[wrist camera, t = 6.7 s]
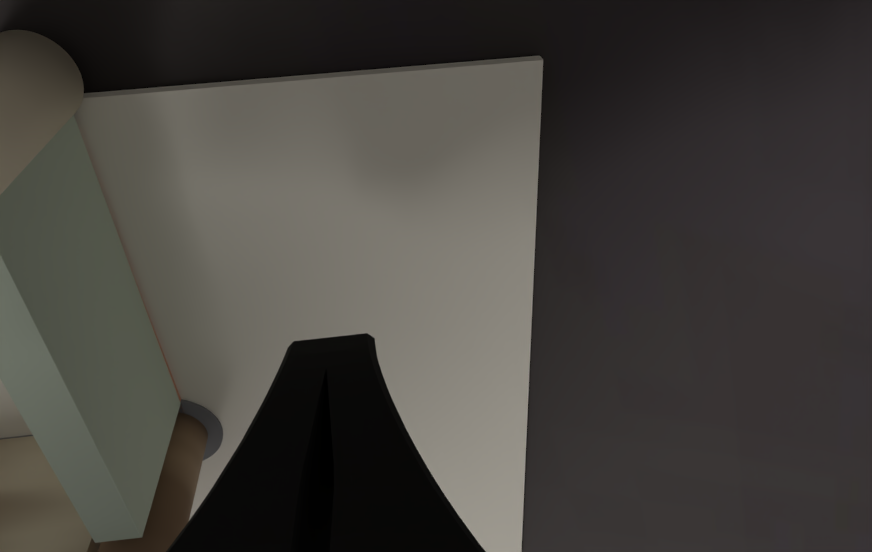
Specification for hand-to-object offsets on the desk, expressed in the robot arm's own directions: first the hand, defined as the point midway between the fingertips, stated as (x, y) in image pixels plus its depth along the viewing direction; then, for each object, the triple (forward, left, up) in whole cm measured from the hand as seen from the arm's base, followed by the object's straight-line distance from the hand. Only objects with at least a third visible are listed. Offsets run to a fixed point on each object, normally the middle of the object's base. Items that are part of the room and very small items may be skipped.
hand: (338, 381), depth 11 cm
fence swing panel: (-5, 0, -5) cm, 7 cm away
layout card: (-5, -5, -5) cm, 9 cm away
